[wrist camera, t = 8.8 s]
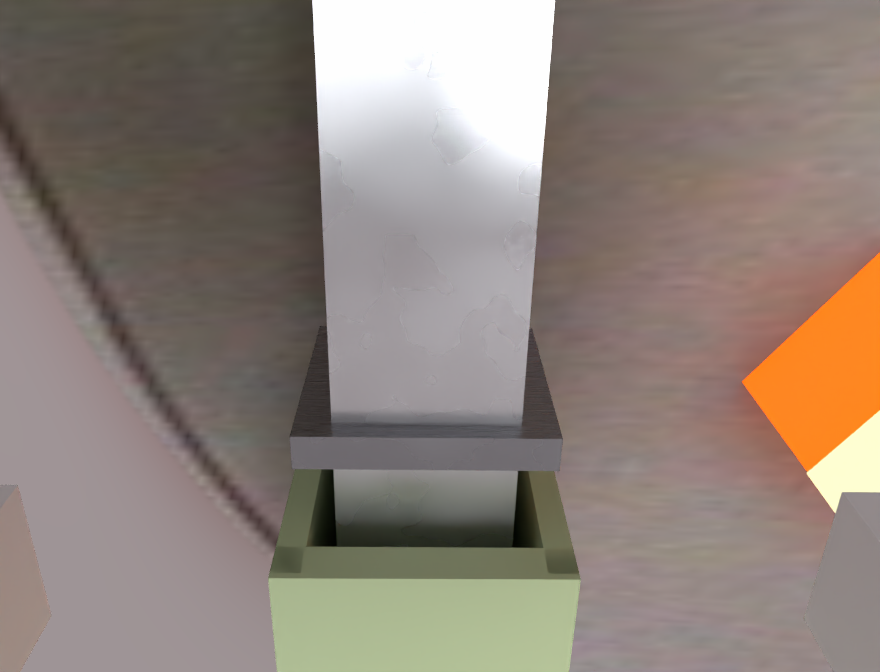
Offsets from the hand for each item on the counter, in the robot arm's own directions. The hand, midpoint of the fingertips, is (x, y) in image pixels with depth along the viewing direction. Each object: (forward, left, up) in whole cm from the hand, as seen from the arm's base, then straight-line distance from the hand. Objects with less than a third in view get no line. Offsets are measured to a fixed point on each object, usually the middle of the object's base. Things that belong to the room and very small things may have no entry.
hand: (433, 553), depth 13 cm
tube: (-2, 0, -14) cm, 14 cm away
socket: (+9, 0, -17) cm, 19 cm away
